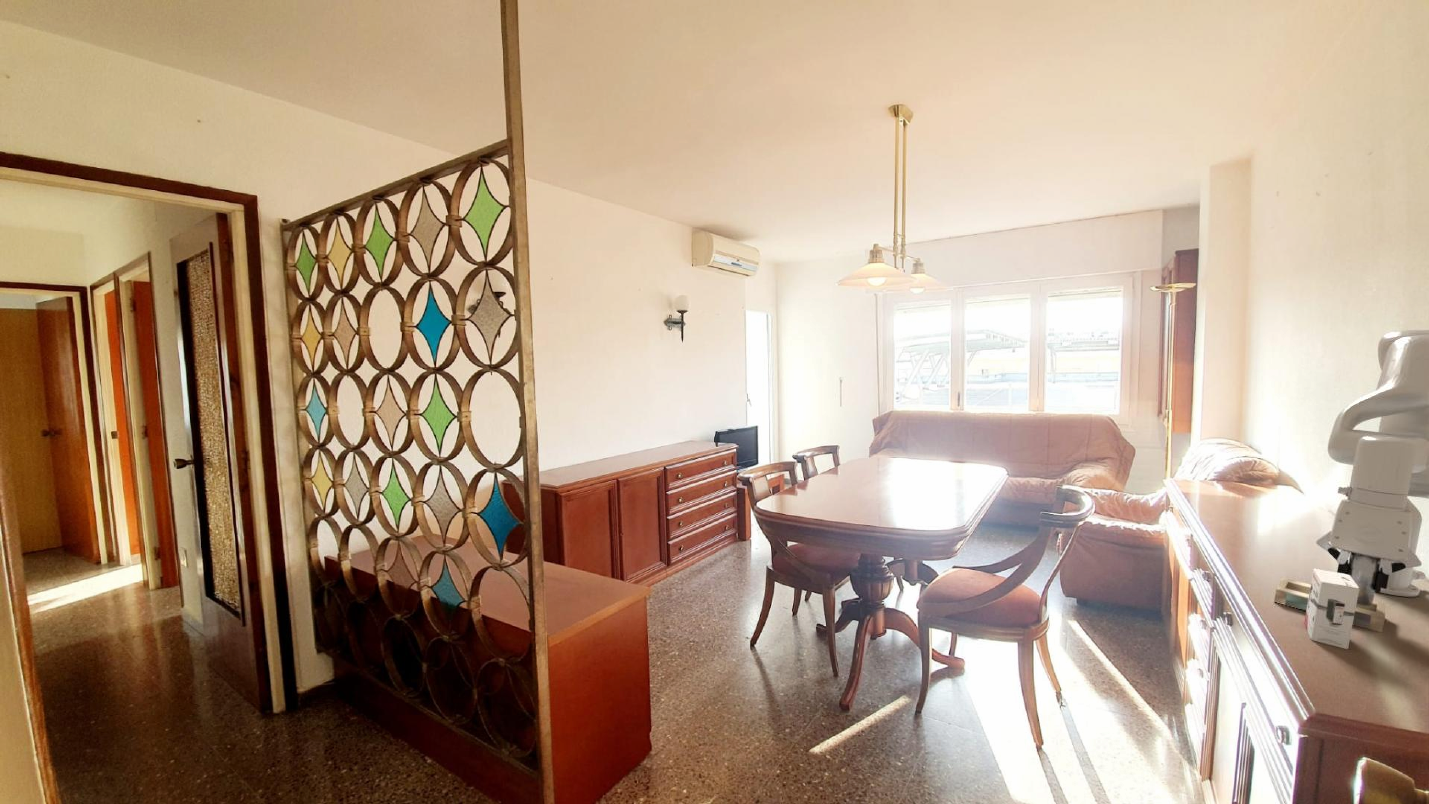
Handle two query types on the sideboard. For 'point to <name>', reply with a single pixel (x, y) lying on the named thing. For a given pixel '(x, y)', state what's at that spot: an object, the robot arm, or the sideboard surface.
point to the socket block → (1299, 595)
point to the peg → (1364, 576)
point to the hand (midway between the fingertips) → (1360, 585)
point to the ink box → (1331, 607)
